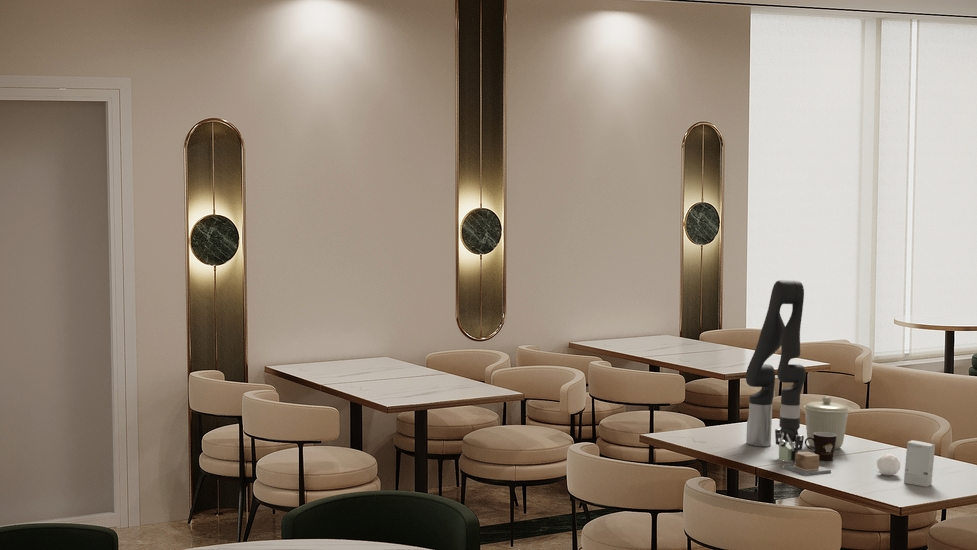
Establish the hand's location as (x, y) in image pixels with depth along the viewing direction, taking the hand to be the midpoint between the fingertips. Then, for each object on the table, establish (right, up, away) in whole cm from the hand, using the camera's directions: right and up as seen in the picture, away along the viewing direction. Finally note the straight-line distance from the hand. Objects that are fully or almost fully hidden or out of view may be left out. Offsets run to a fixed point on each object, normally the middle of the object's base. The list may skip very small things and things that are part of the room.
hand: (788, 458), depth 391 cm
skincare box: (+37, -3, -32) cm, 49 cm away
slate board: (+2, -2, -15) cm, 15 cm away
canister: (+22, 0, +24) cm, 33 cm away
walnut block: (+2, 0, -15) cm, 16 cm away
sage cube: (0, -1, 0) cm, 1 cm away
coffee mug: (+13, -1, +3) cm, 13 cm away
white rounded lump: (+31, -3, -18) cm, 36 cm away
